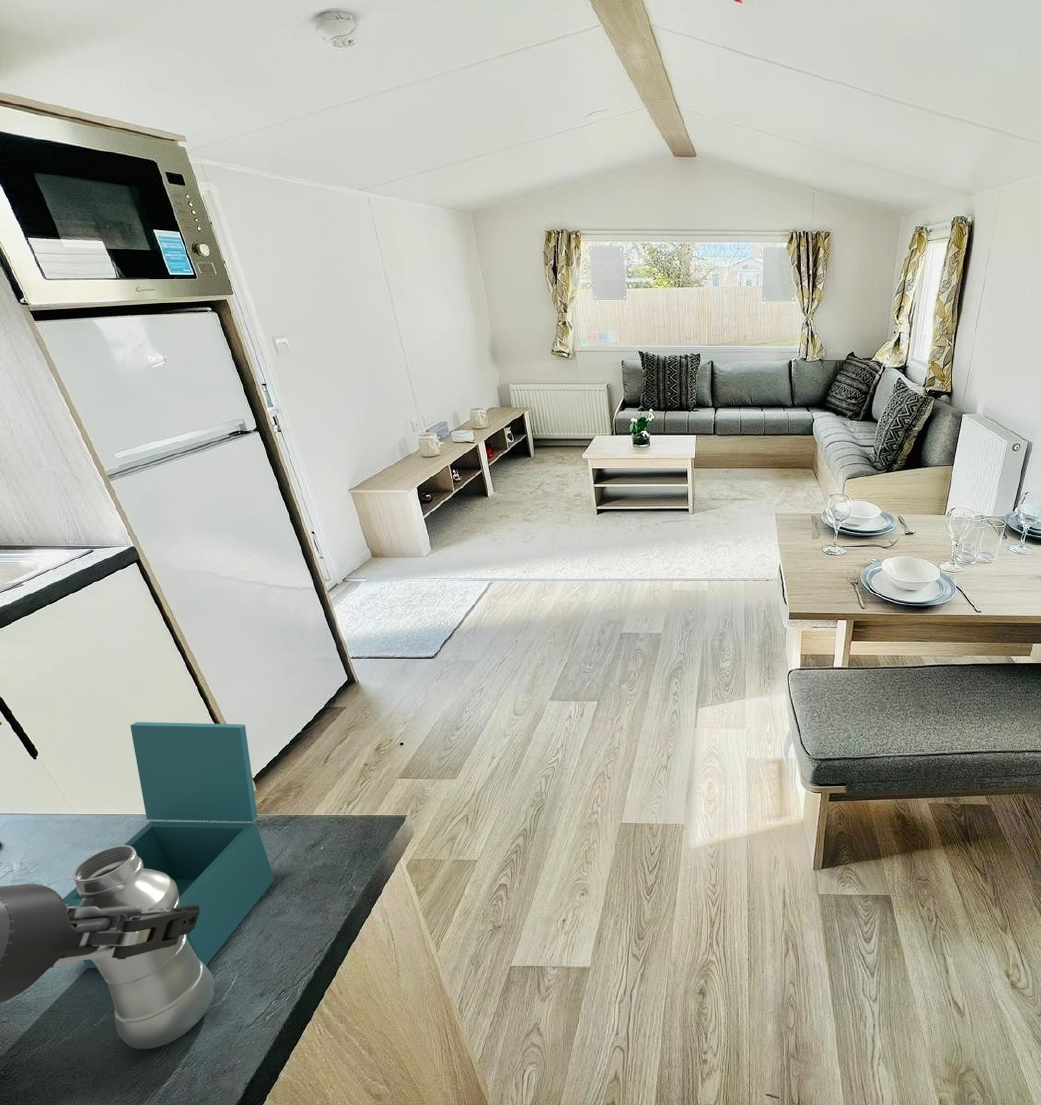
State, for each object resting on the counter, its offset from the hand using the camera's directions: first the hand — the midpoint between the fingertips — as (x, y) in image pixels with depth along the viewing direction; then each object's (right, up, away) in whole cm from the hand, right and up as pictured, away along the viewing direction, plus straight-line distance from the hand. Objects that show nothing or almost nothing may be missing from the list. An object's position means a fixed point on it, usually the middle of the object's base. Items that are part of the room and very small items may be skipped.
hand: (152, 918), depth 55 cm
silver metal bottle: (0, -12, +3) cm, 12 cm away
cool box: (-8, -7, +12) cm, 16 cm away
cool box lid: (-7, +9, +12) cm, 16 cm away
